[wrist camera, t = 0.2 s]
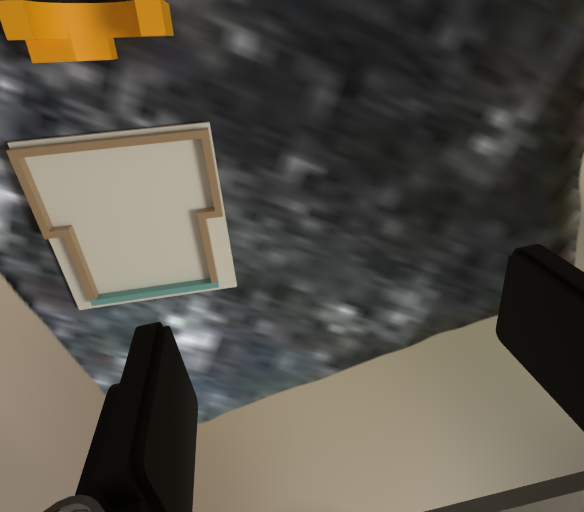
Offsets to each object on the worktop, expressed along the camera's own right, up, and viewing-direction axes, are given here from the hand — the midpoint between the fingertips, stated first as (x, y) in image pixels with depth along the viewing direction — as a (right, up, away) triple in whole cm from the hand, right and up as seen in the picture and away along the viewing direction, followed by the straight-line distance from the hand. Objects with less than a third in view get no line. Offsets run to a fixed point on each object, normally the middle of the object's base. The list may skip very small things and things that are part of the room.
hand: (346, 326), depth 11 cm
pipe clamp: (-19, +23, +26) cm, 39 cm away
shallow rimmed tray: (-19, +6, +35) cm, 40 cm away
